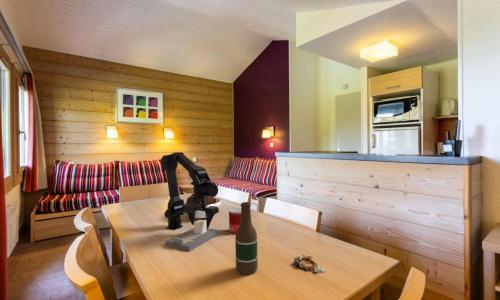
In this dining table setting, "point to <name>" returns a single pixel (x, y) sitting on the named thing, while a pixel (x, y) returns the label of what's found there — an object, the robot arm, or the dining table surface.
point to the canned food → (234, 220)
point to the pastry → (308, 264)
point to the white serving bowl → (210, 202)
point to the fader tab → (200, 226)
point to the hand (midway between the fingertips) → (200, 226)
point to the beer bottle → (246, 243)
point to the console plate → (191, 239)
